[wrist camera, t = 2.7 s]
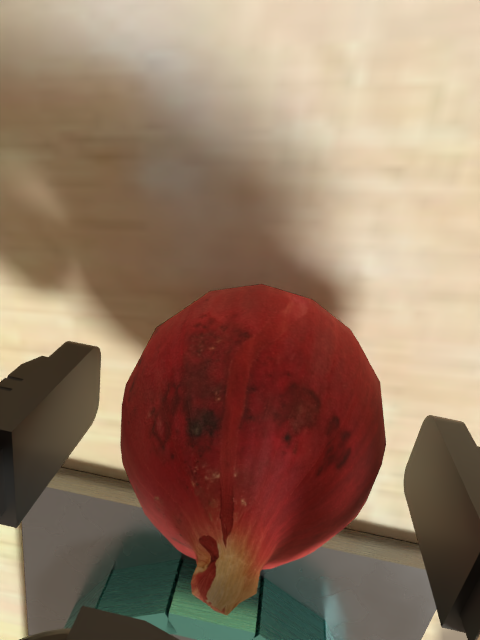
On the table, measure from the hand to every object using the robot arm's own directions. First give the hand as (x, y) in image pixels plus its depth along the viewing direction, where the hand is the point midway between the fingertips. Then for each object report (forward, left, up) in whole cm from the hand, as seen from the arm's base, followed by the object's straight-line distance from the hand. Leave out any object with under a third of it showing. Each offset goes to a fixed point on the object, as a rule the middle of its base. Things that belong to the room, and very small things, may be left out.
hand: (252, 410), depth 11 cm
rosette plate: (+14, 0, -3) cm, 14 cm away
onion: (0, 0, -3) cm, 3 cm away
